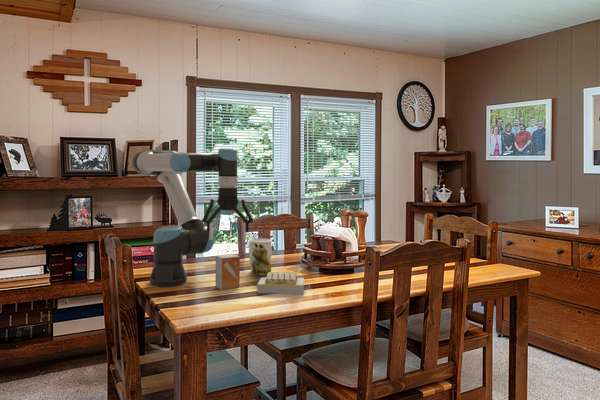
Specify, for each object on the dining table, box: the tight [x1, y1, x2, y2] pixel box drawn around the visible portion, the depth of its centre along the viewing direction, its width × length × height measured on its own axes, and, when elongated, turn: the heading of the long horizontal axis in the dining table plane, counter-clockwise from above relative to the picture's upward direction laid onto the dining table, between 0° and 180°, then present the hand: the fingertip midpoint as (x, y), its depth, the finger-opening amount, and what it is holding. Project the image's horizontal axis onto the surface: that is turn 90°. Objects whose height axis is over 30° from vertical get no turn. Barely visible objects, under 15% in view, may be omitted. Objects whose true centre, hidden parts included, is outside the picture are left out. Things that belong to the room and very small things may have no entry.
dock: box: [256, 277, 305, 295], centre depth 201 cm, size 18×14×4 cm
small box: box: [215, 253, 241, 291], centre depth 202 cm, size 8×6×13 cm
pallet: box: [265, 271, 298, 284], centre depth 201 cm, size 12×12×2 cm
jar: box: [248, 237, 273, 273], centre depth 232 cm, size 11×10×15 cm
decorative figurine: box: [251, 243, 272, 280], centre depth 222 cm, size 10×8×15 cm
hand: (228, 239), depth 201 cm, fingers open, 13 cm apart
